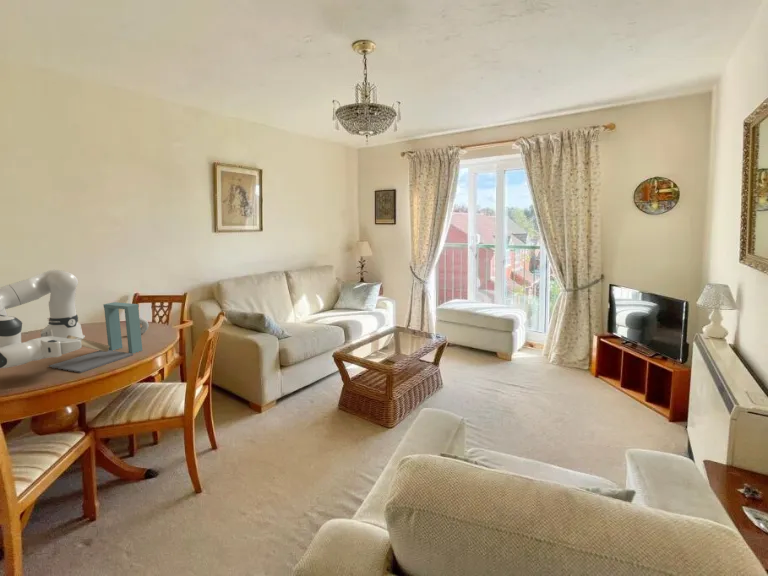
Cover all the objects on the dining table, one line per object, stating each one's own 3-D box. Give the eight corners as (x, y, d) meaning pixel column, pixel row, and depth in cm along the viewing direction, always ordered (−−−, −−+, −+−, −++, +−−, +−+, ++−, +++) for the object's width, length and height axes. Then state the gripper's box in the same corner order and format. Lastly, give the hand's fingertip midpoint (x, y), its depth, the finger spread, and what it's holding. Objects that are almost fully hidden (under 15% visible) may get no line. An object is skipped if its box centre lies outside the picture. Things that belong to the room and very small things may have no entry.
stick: (64, 341, 174) (67, 335, 175) (103, 351, 190) (106, 345, 191) (68, 342, 173) (71, 335, 174) (107, 352, 190) (109, 345, 191)
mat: (48, 367, 176) (48, 365, 176) (103, 350, 199) (103, 349, 199) (80, 372, 170) (80, 371, 170) (133, 355, 193) (133, 353, 193)
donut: (129, 336, 225) (128, 319, 224) (129, 335, 228) (127, 318, 226) (149, 333, 231) (148, 317, 230) (148, 332, 234) (147, 315, 233)
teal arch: (108, 350, 200) (103, 304, 196) (119, 347, 205) (114, 302, 202) (132, 354, 195) (127, 306, 191) (142, 350, 200) (138, 304, 197)
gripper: (27, 352, 168) (62, 343, 181) (60, 357, 162) (94, 347, 175) (25, 338, 167) (60, 330, 180) (58, 342, 161) (92, 334, 174)
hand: (77, 338), depth 177 cm, fingers closed on stick, 2 cm apart
